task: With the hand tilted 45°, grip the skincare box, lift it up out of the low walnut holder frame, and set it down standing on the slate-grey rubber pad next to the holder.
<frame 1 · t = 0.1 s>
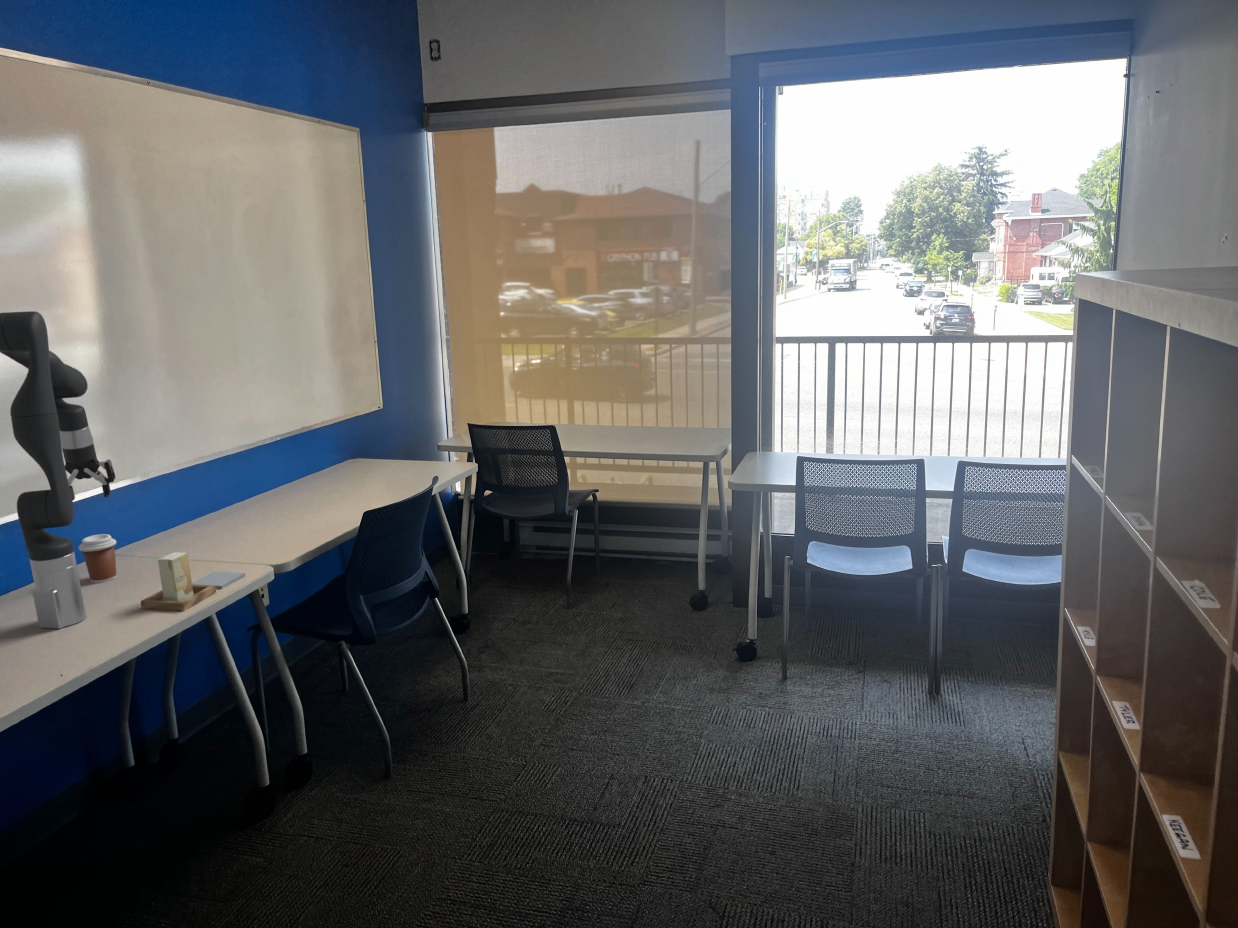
hand: (89, 498, 247), 22 cm above the table, tool pointing down, fingers open, 8 cm apart
coffee cup: (103, 579, 248), on the table
walnut holder: (179, 600, 229), on the table
grey rubber pad: (217, 581, 242), on the table
skincare box: (179, 601, 229), resting in walnut holder
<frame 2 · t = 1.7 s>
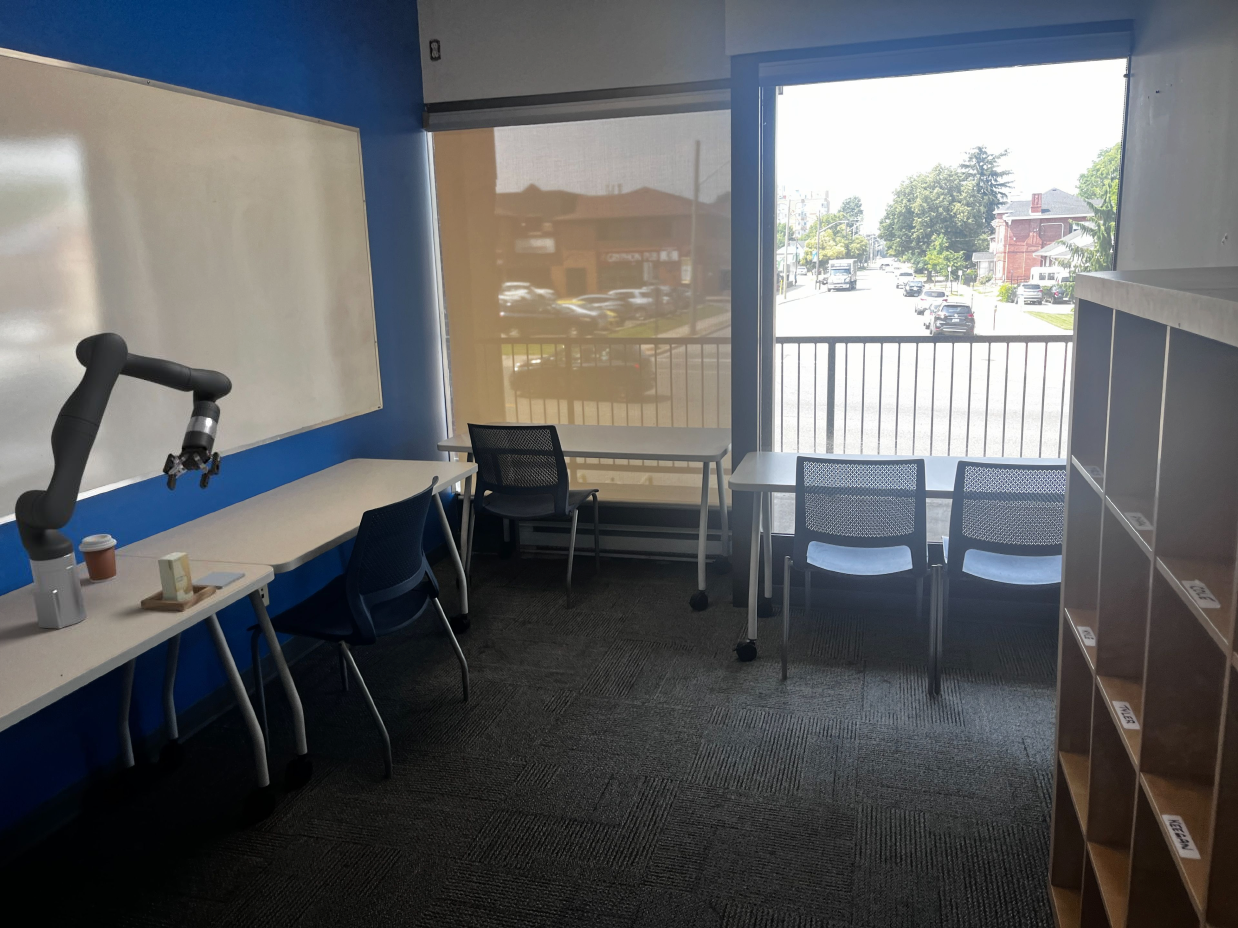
hand: (186, 488, 235), 27 cm above the table, tool tilted 45°, fingers open, 8 cm apart
nothing on the table moved.
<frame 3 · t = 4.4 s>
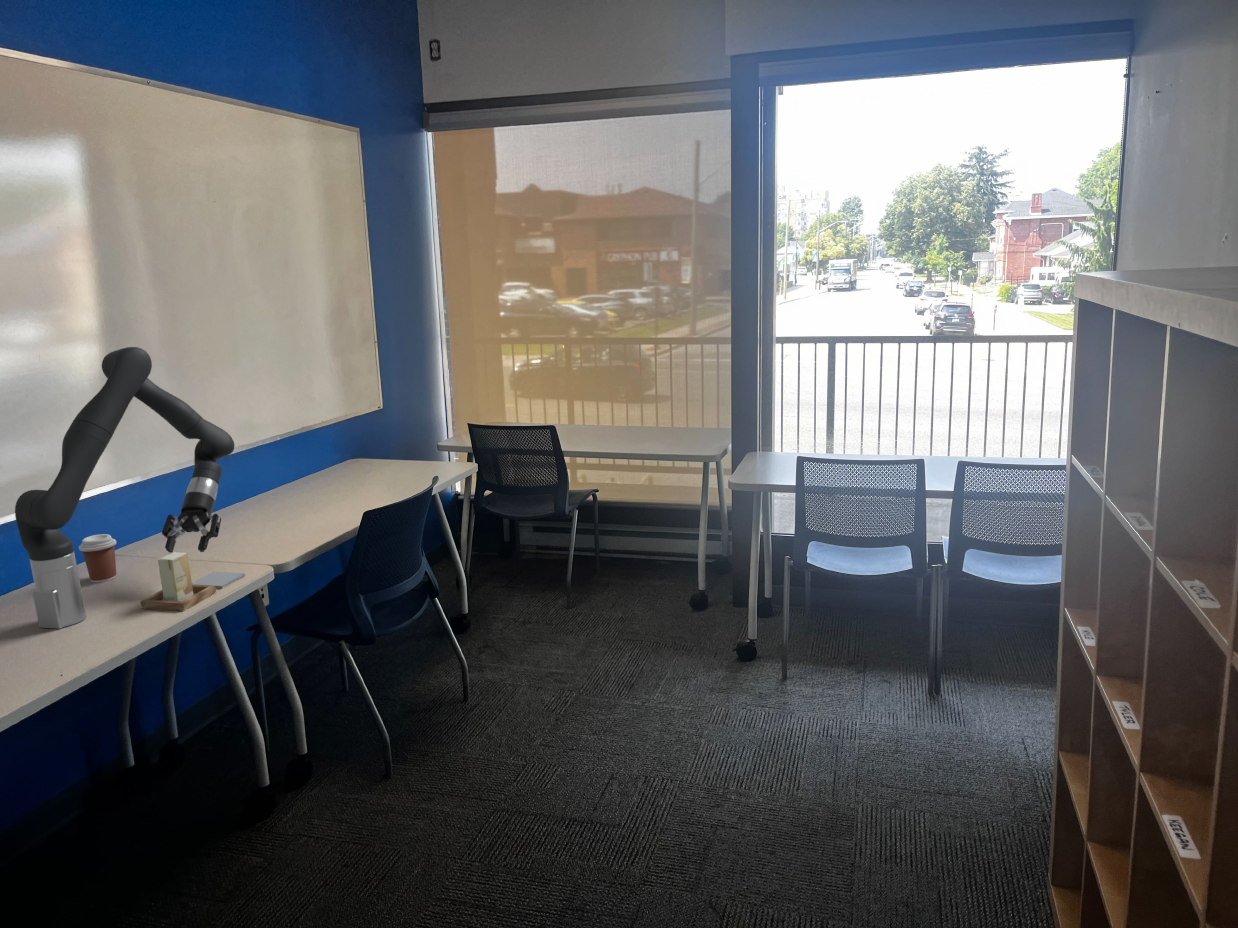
hand: (184, 551, 232), 11 cm above the table, tool tilted 45°, fingers open, 8 cm apart
nothing on the table moved.
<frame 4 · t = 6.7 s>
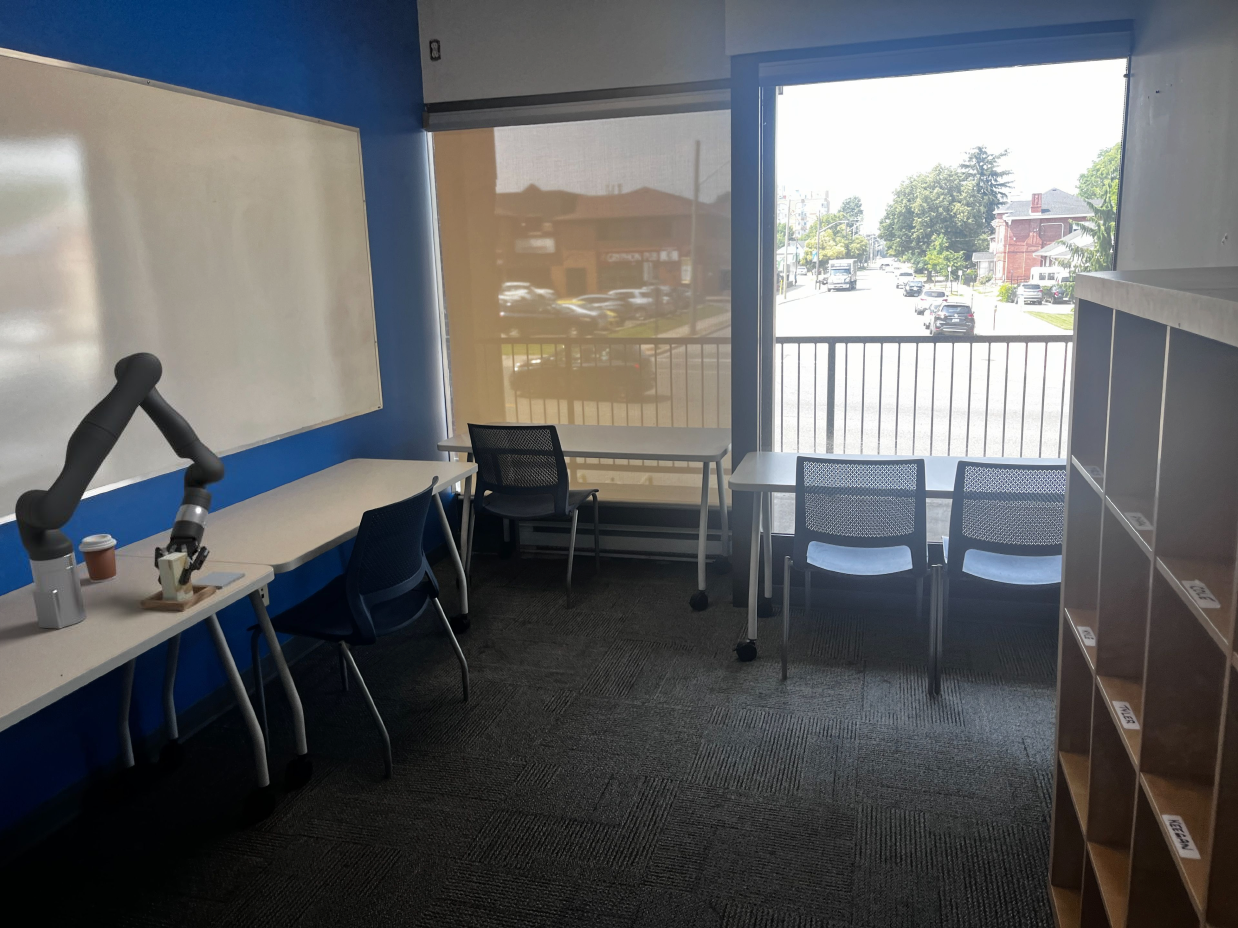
hand: (172, 584, 226), 5 cm above the table, tool tilted 45°, fingers closed on skincare box, 5 cm apart
skincare box: (179, 601, 229), resting in walnut holder, touching gripper
everything else where it was.
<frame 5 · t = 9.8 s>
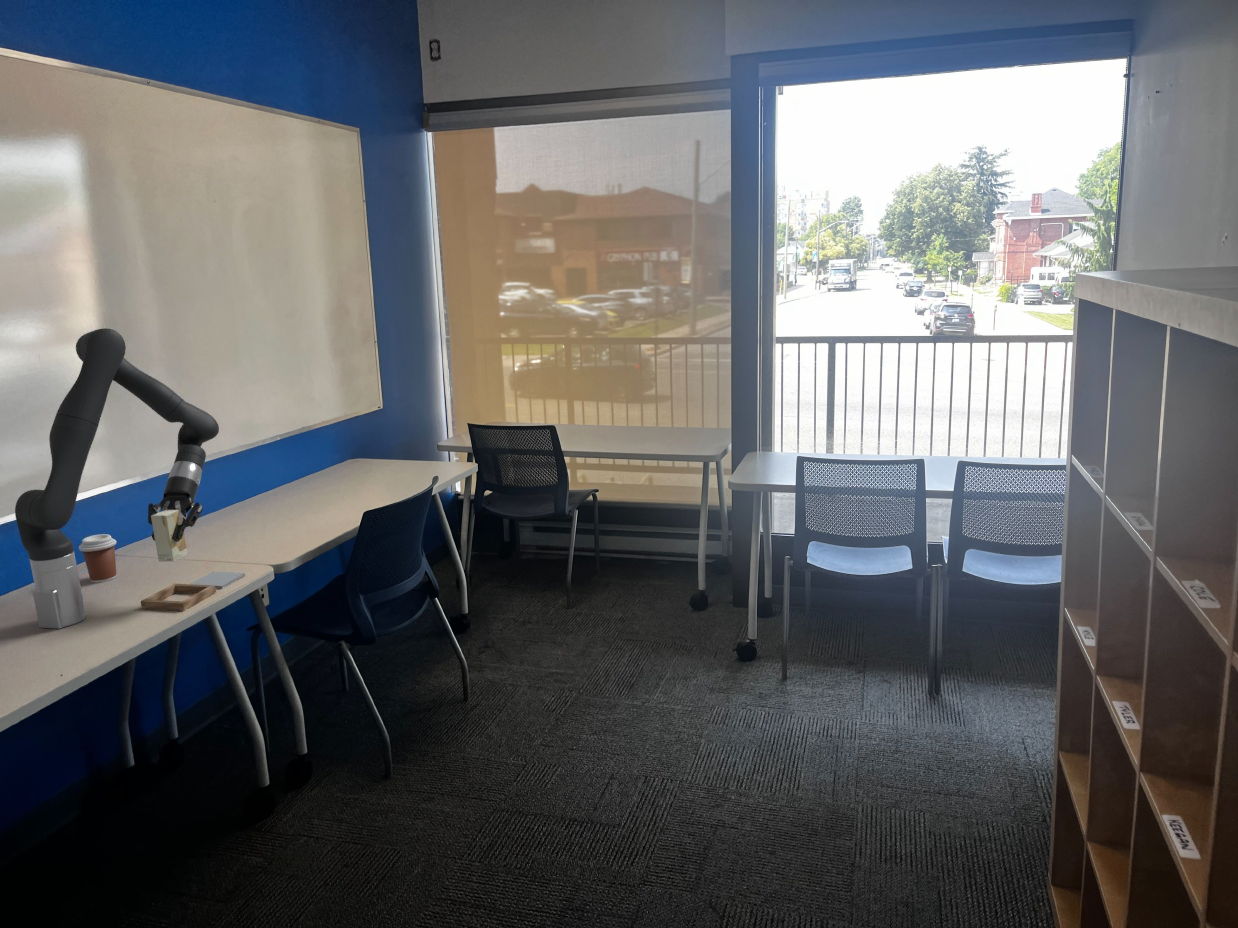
hand: (165, 540, 223), 17 cm above the table, tool tilted 45°, fingers closed on skincare box, 4 cm apart
skincare box: (173, 558, 226), point 11 cm above the table, touching gripper
everything else where it was.
when the fingers open (7 cm above the table, at t = 13.2 s): skincare box stays where it is, resting on grey rubber pad.
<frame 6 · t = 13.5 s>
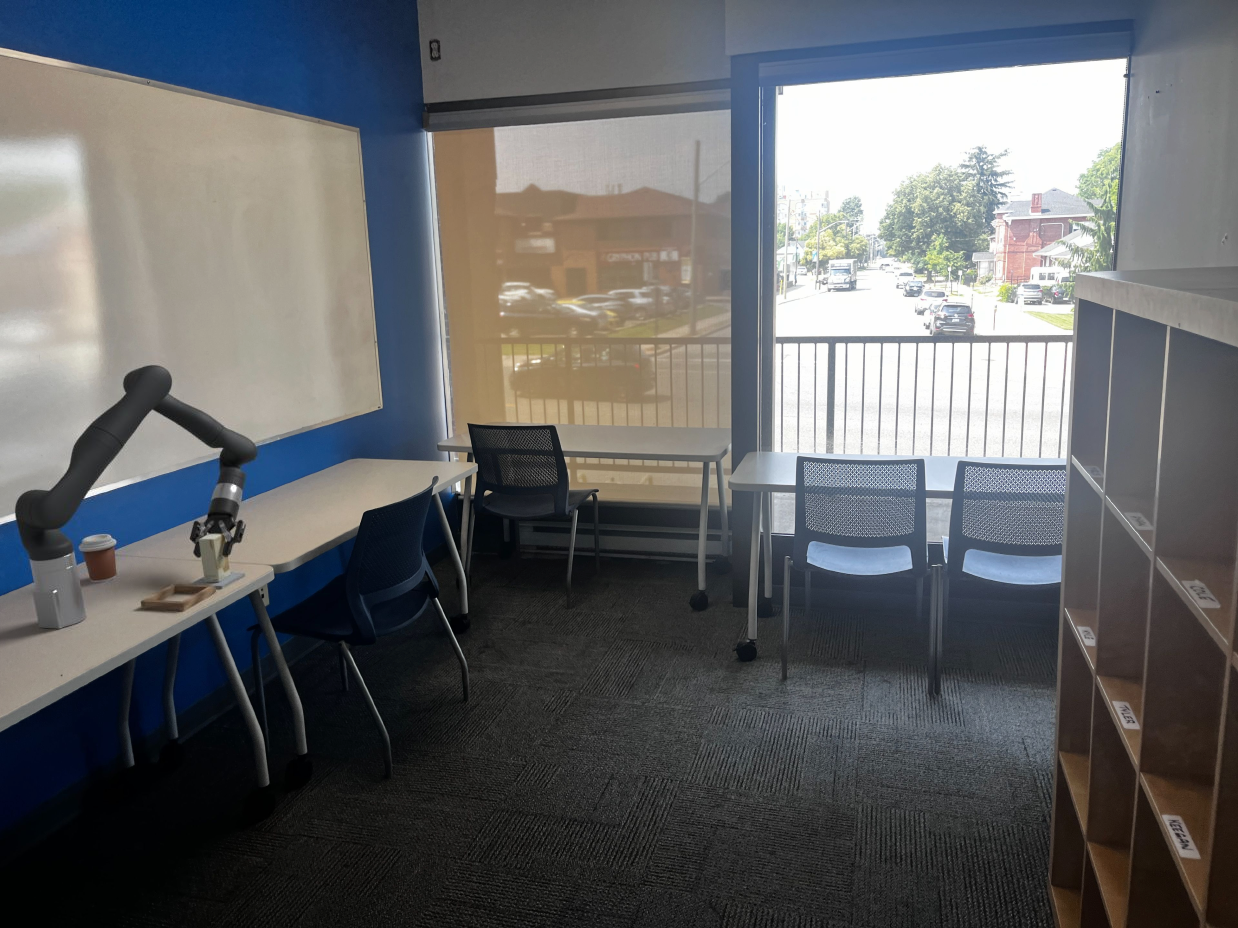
hand: (211, 556, 239), 8 cm above the table, tool tilted 45°, fingers open, 7 cm apart
skincare box: (218, 579, 242), point 1 cm above the table, touching grey rubber pad
everything else where it was.
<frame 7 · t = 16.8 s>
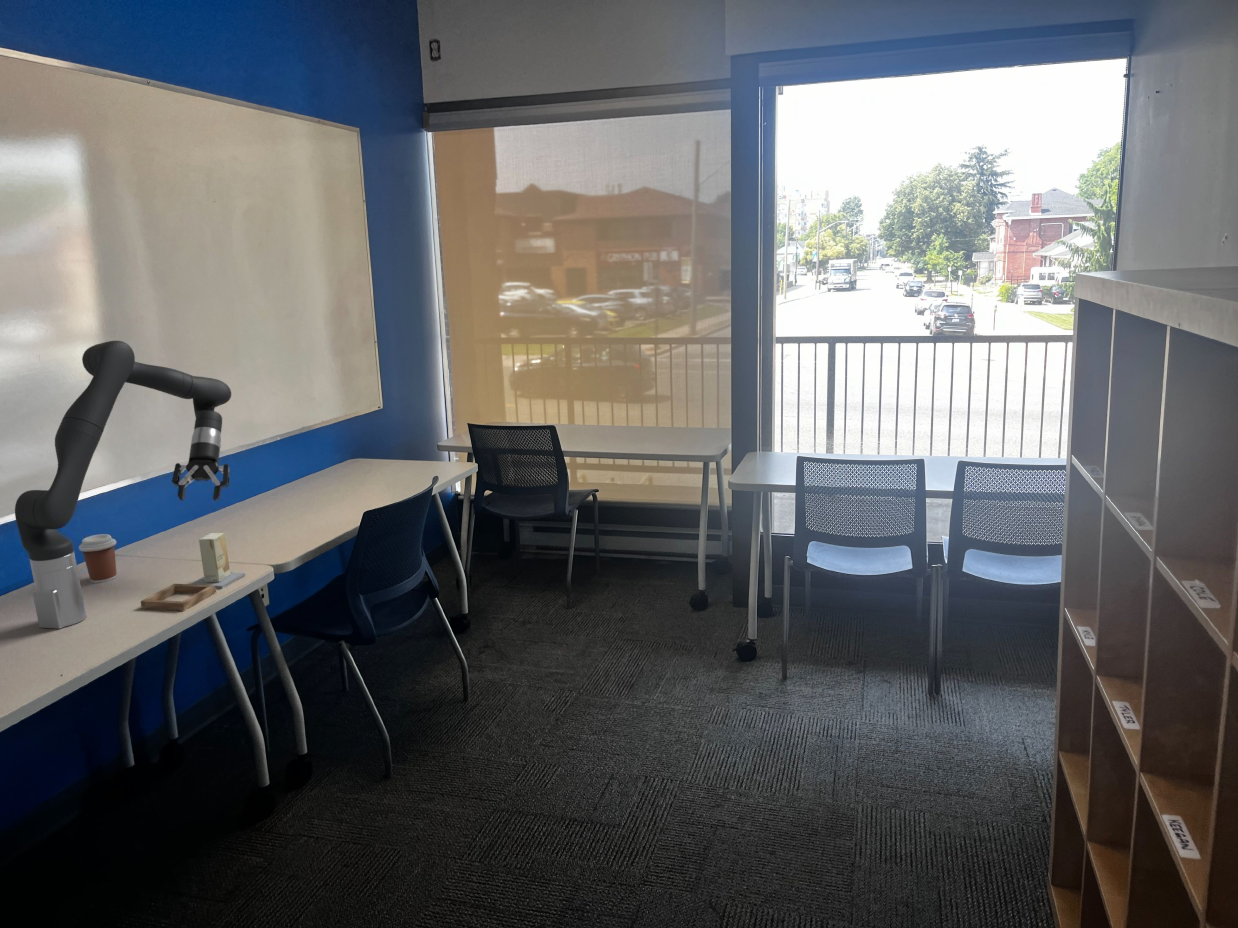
hand: (198, 499, 243), 22 cm above the table, tool tilted 35°, fingers open, 8 cm apart
nothing on the table moved.
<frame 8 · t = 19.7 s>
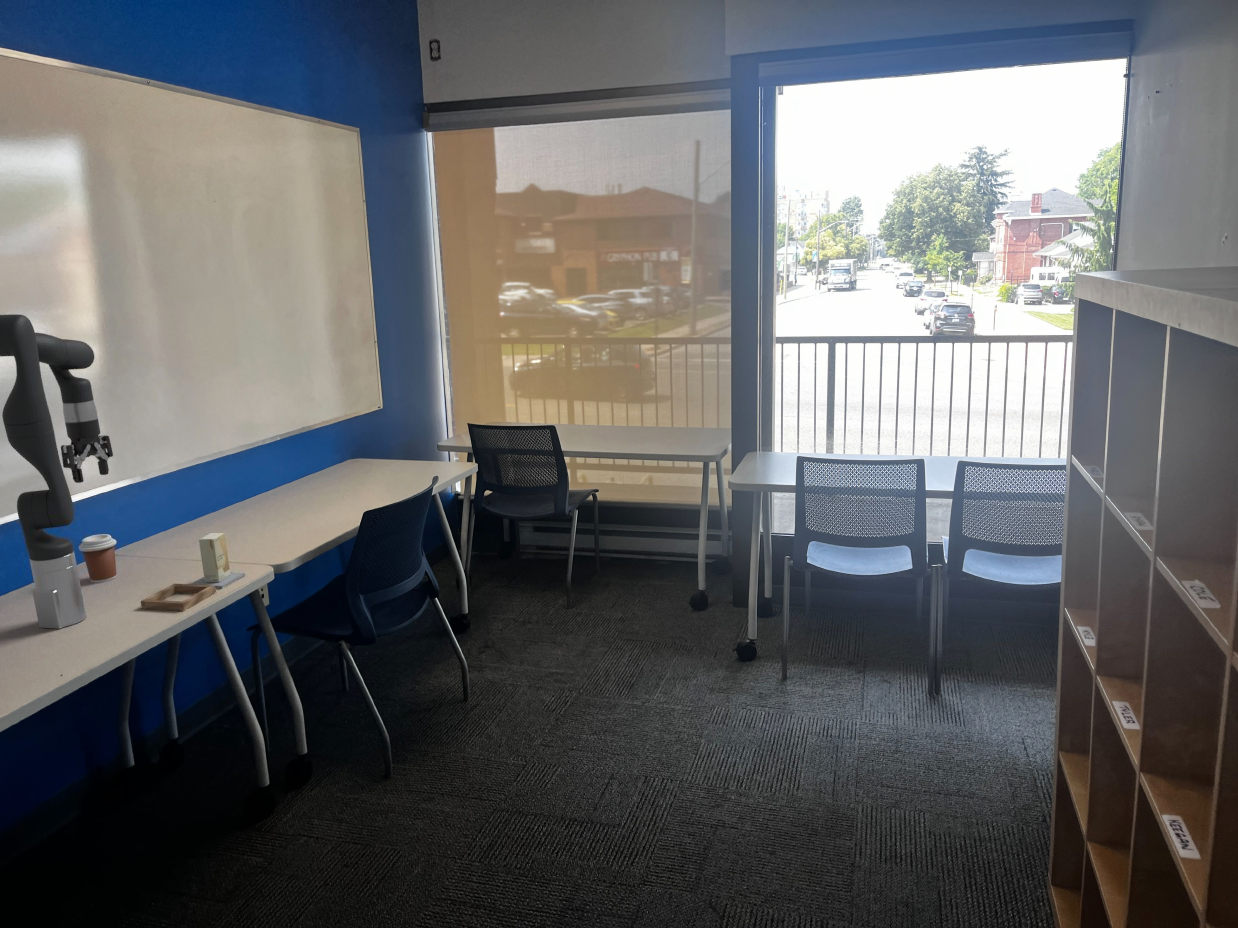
hand: (92, 478, 236), 30 cm above the table, tool pointing down, fingers open, 8 cm apart
nothing on the table moved.
at the end: skincare box inside the target area (0.1 cm from its centre), point 0.6 cm above the table; skincare box tilted 0°; the gripper is holding nothing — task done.
